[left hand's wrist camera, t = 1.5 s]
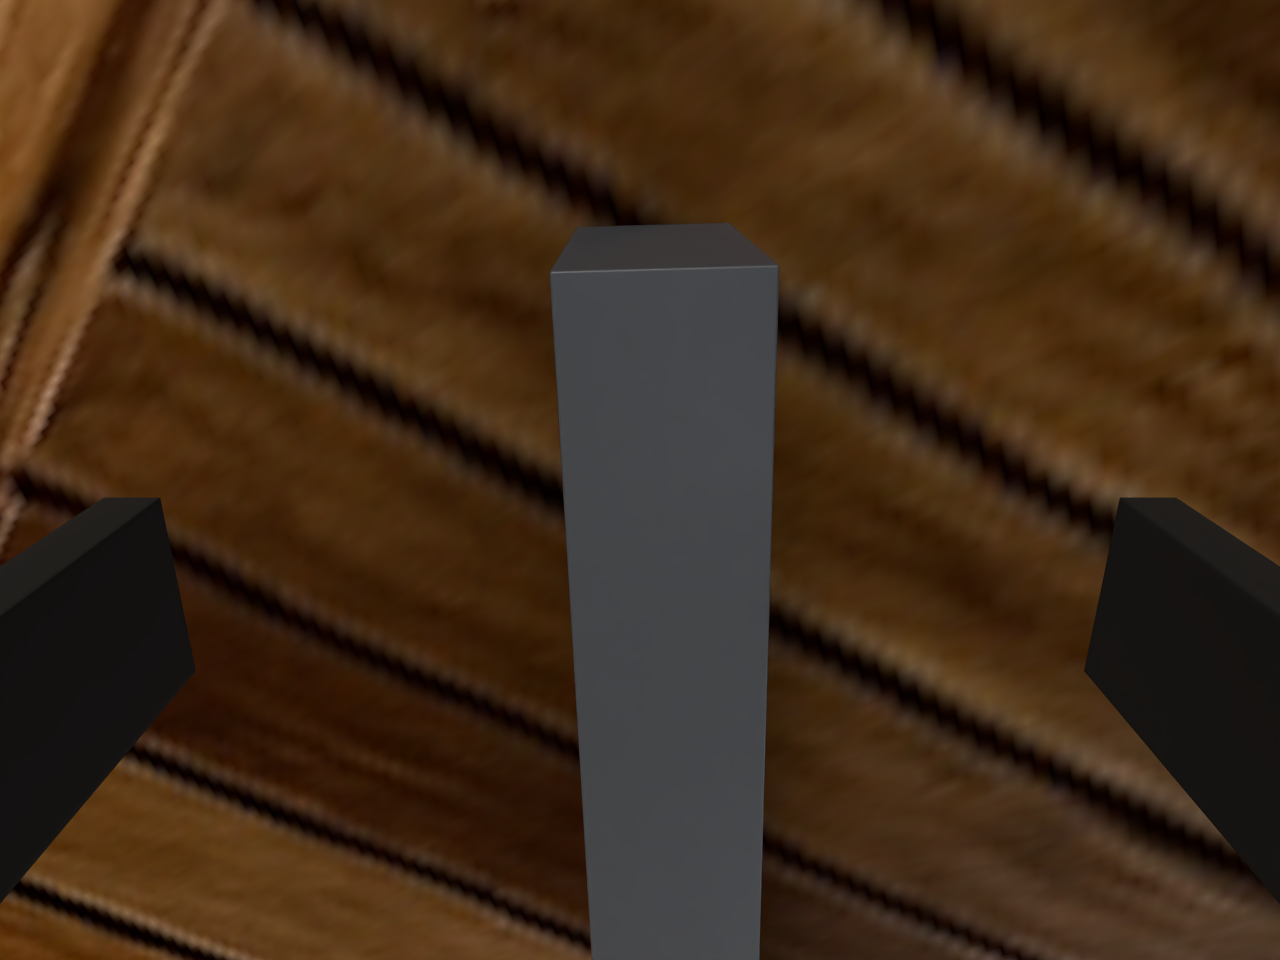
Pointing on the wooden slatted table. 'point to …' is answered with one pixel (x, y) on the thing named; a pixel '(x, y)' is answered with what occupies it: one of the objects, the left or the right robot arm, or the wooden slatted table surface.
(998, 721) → the wooden slatted table surface
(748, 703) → the bar
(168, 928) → the wooden slatted table surface
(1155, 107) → the wooden slatted table surface
